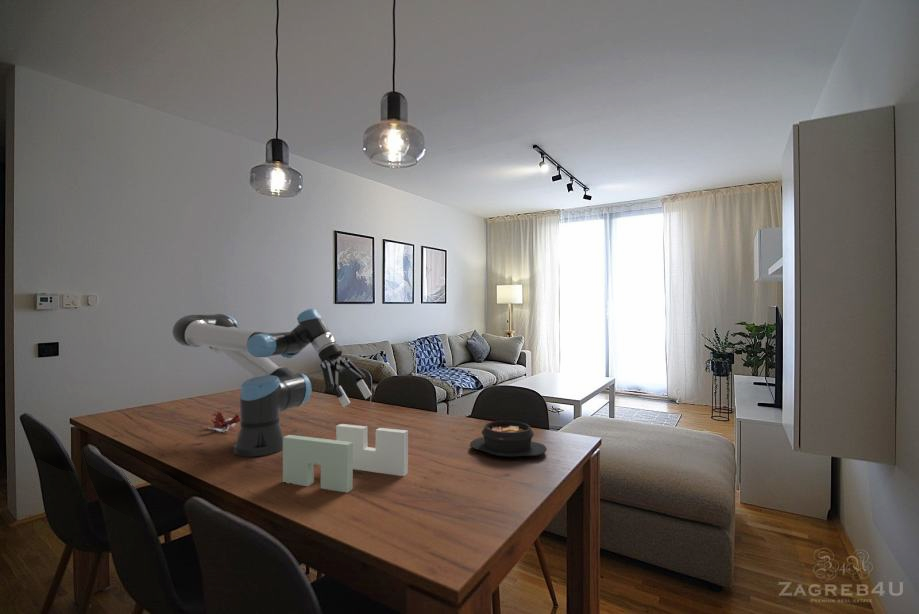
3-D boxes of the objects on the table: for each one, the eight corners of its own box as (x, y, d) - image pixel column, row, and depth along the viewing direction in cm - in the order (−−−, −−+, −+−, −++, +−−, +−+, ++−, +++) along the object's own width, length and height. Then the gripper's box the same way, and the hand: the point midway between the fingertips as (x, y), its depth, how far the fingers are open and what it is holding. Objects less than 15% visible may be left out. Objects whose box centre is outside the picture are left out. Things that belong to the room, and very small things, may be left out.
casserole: (461, 456, 132) (461, 429, 133) (479, 439, 150) (479, 415, 150) (541, 467, 124) (541, 438, 124) (550, 447, 141) (550, 422, 141)
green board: (282, 482, 112) (282, 437, 112) (289, 478, 114) (289, 434, 115) (347, 492, 106) (347, 445, 106) (352, 488, 108) (352, 442, 108)
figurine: (196, 431, 159) (196, 414, 159) (225, 424, 169) (225, 407, 169) (221, 437, 152) (221, 418, 152) (250, 429, 162) (250, 411, 162)
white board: (336, 466, 123) (336, 425, 123) (341, 463, 126) (341, 423, 126) (404, 476, 116) (404, 432, 116) (407, 473, 119) (407, 430, 119)
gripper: (311, 345, 133) (345, 402, 129) (354, 340, 157) (384, 388, 153) (295, 358, 135) (328, 415, 131) (340, 351, 159) (369, 399, 155)
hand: (358, 400), depth 142 cm, fingers open, 13 cm apart
